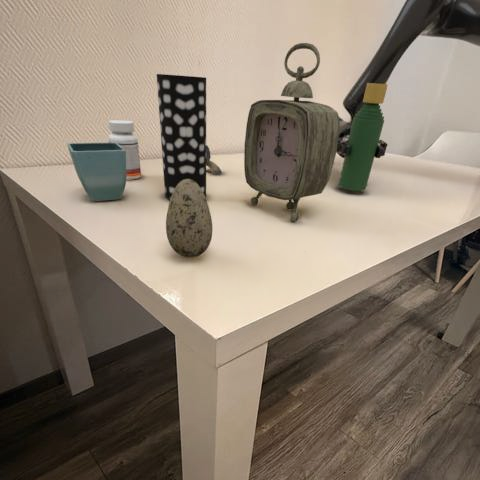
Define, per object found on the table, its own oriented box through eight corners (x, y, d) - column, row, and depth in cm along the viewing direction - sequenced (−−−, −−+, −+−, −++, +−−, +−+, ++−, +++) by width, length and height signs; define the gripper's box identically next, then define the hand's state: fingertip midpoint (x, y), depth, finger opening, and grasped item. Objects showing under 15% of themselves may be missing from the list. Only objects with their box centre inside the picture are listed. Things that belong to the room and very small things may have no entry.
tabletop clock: (241, 204, 66) (250, 41, 51) (273, 198, 71) (290, 47, 56) (295, 227, 57) (325, 37, 43) (327, 218, 62) (364, 46, 48)
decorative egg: (191, 244, 49) (189, 171, 43) (221, 257, 46) (223, 180, 40) (158, 255, 45) (151, 177, 39) (188, 270, 42) (185, 188, 36)
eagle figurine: (179, 166, 85) (207, 165, 80) (185, 139, 85) (213, 136, 80) (198, 180, 92) (224, 179, 87) (203, 154, 91) (230, 152, 87)
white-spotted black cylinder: (214, 196, 69) (215, 78, 58) (189, 205, 63) (185, 75, 52) (182, 189, 72) (178, 75, 61) (156, 197, 66) (145, 73, 55)
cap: (369, 101, 71) (373, 83, 69) (386, 103, 69) (391, 84, 67) (358, 101, 69) (363, 82, 67) (376, 103, 67) (381, 83, 65)
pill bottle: (115, 174, 80) (106, 119, 73) (141, 174, 81) (135, 120, 75) (113, 180, 75) (104, 122, 68) (141, 180, 76) (135, 123, 70)
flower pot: (77, 193, 66) (66, 142, 60) (123, 190, 69) (116, 141, 64) (83, 206, 59) (71, 151, 54) (133, 202, 63) (126, 149, 58)
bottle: (348, 182, 83) (371, 85, 71) (371, 188, 79) (399, 87, 67) (333, 185, 79) (354, 84, 68) (355, 192, 76) (382, 86, 64)
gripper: (322, 121, 84) (335, 130, 70) (379, 125, 84) (402, 134, 70) (316, 154, 88) (327, 168, 75) (370, 157, 88) (391, 172, 75)
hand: (363, 151), depth 73 cm, fingers closed on bottle, 6 cm apart
